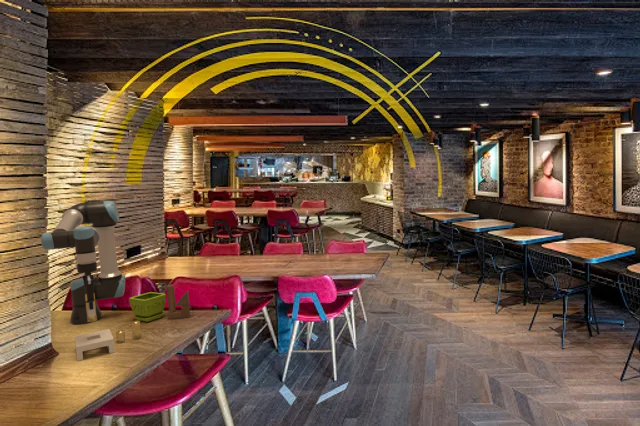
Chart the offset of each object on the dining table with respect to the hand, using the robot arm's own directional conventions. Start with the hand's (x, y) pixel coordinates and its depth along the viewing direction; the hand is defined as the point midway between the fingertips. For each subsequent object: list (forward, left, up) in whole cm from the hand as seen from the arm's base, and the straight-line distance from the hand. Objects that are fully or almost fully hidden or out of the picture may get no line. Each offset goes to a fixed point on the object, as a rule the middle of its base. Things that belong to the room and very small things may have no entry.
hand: (91, 315), depth 184 cm
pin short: (-4, +11, -16) cm, 20 cm away
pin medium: (-4, +18, -16) cm, 24 cm away
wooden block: (-22, +42, -16) cm, 50 cm away
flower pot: (-32, +29, -16) cm, 46 cm away
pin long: (0, 0, -2) cm, 2 cm away
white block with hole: (0, 0, -16) cm, 16 cm away
